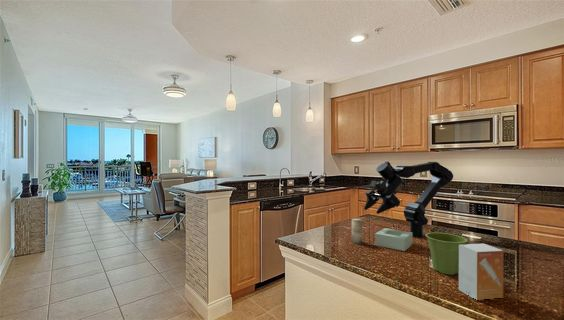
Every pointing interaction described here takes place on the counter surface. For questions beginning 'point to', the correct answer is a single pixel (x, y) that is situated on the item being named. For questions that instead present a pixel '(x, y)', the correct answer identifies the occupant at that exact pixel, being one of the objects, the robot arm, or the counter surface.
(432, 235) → the plant pot
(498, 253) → the small box
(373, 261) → the counter surface
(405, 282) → the counter surface
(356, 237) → the beech peg
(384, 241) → the socket block
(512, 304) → the counter surface
